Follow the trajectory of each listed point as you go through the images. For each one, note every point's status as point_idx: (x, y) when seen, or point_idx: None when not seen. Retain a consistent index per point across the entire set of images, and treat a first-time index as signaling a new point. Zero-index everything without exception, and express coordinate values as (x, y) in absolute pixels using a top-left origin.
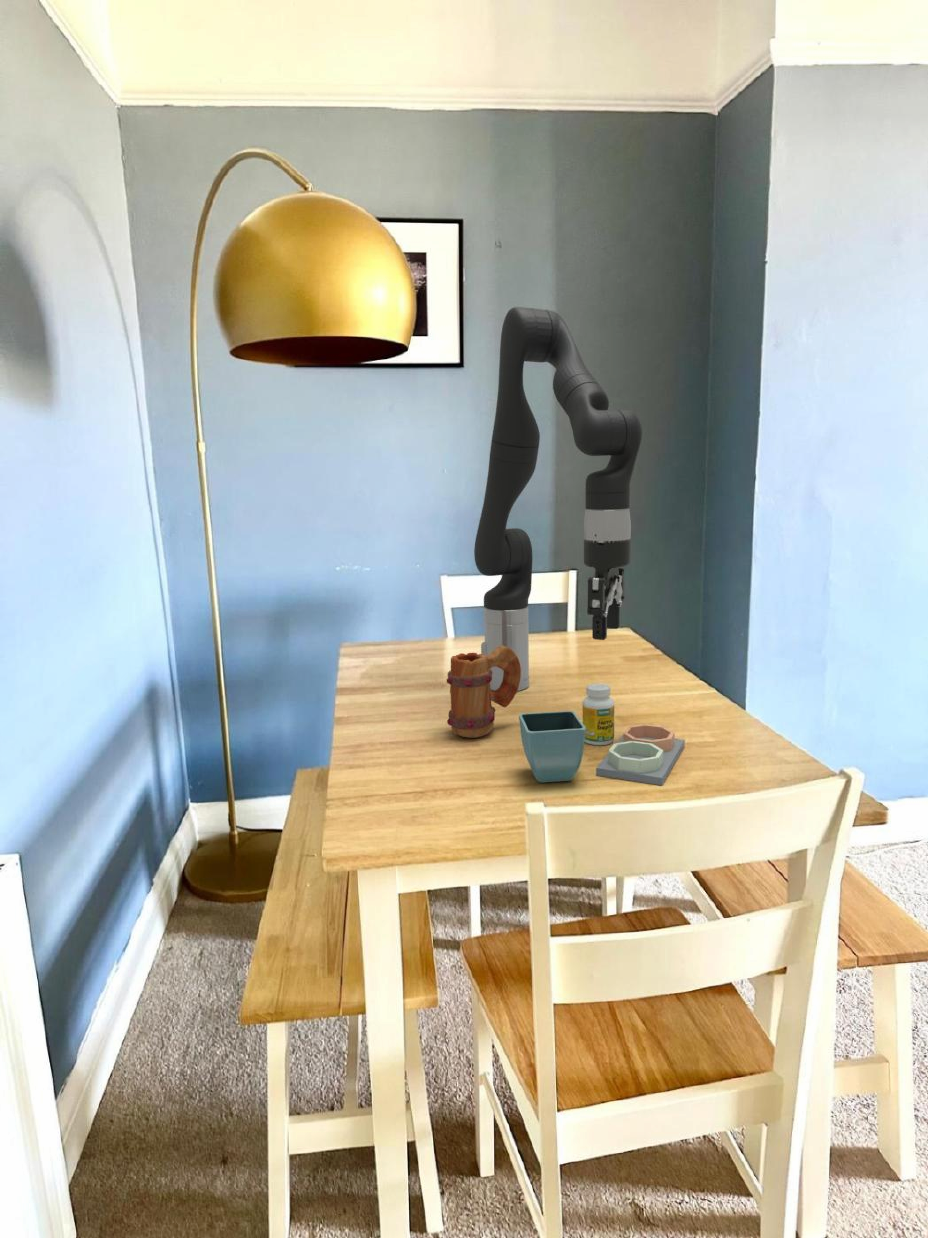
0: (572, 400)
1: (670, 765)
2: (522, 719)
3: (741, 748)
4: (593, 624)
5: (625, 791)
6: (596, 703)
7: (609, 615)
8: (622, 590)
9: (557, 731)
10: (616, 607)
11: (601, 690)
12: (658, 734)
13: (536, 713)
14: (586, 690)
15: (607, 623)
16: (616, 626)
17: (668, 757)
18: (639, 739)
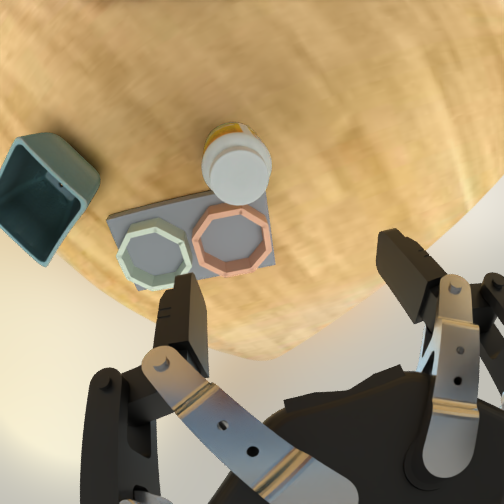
0: None
1: None
2: (4, 164)
3: (298, 304)
4: (172, 318)
5: (99, 262)
6: (208, 179)
7: (404, 269)
8: (482, 357)
9: (14, 239)
10: (420, 314)
11: (218, 197)
12: (263, 239)
13: (36, 159)
14: (221, 154)
15: (387, 242)
16: (380, 266)
17: (199, 273)
18: (196, 247)
